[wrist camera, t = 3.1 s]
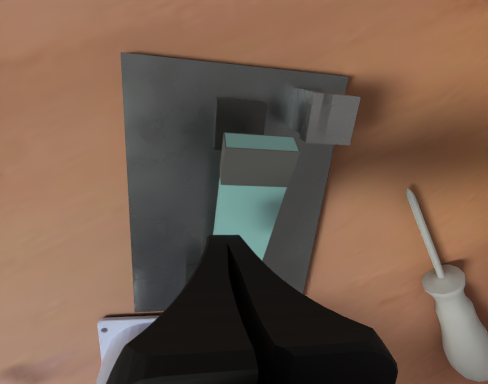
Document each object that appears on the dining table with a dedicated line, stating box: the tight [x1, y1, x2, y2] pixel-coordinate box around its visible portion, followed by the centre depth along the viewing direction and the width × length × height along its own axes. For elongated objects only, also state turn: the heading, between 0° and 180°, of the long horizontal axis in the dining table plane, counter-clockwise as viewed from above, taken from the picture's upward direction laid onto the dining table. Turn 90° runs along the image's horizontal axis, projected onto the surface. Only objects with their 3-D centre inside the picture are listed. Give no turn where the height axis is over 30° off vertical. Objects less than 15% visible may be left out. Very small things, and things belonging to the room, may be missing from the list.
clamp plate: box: [121, 52, 361, 312], centre depth 20 cm, size 19×14×6 cm
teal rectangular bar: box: [213, 132, 300, 260], centre depth 17 cm, size 15×3×2 cm, turn 175°
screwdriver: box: [406, 188, 488, 382], centre depth 28 cm, size 5×25×4 cm, turn 30°
